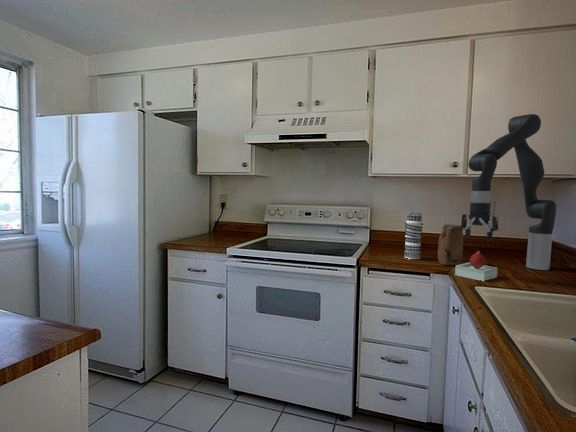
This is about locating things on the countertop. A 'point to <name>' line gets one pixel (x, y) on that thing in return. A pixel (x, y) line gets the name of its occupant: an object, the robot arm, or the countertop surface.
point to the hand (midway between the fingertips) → (478, 239)
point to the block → (450, 245)
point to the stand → (476, 272)
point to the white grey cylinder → (413, 235)
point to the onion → (477, 260)
